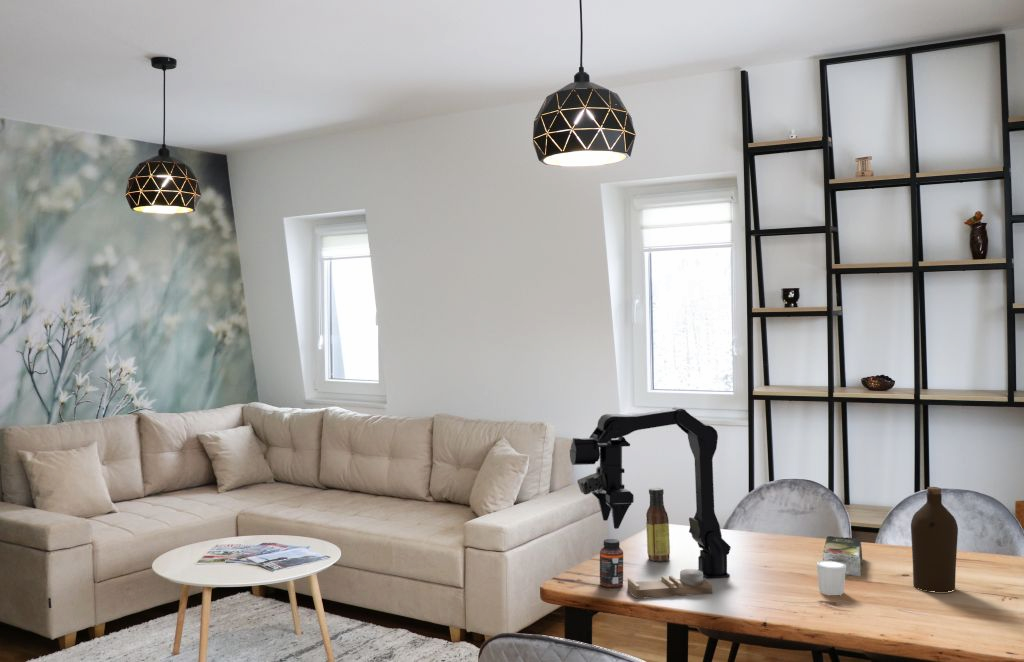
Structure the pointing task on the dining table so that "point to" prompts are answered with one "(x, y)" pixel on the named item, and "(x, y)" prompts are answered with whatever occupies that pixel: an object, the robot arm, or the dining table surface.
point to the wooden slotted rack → (671, 585)
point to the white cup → (831, 577)
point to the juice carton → (844, 553)
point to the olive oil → (934, 545)
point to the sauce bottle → (657, 527)
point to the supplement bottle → (611, 564)
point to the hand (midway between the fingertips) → (610, 524)
